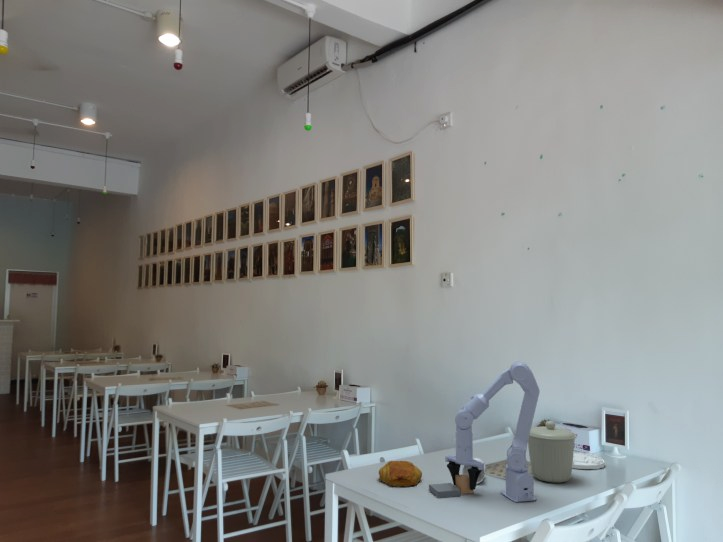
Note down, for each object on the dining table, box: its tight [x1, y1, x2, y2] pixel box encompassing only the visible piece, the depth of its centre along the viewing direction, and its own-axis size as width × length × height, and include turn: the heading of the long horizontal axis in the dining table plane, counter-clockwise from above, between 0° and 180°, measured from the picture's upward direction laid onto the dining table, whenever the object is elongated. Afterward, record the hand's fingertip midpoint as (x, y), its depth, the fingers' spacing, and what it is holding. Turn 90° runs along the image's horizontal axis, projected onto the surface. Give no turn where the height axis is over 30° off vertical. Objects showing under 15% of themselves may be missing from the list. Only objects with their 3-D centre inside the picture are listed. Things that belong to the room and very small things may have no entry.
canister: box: [527, 420, 577, 484], centre depth 201 cm, size 18×18×21 cm
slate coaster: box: [428, 482, 462, 499], centre depth 182 cm, size 8×8×2 cm
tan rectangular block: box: [454, 473, 474, 495], centre depth 184 cm, size 4×4×5 cm
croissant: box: [378, 460, 423, 487], centre depth 195 cm, size 14×16×8 cm
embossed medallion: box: [572, 451, 606, 471], centre depth 222 cm, size 20×20×3 cm
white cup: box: [461, 457, 487, 485], centre depth 198 cm, size 8×8×10 cm
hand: (464, 487), depth 184 cm, fingers closed on tan rectangular block, 6 cm apart
